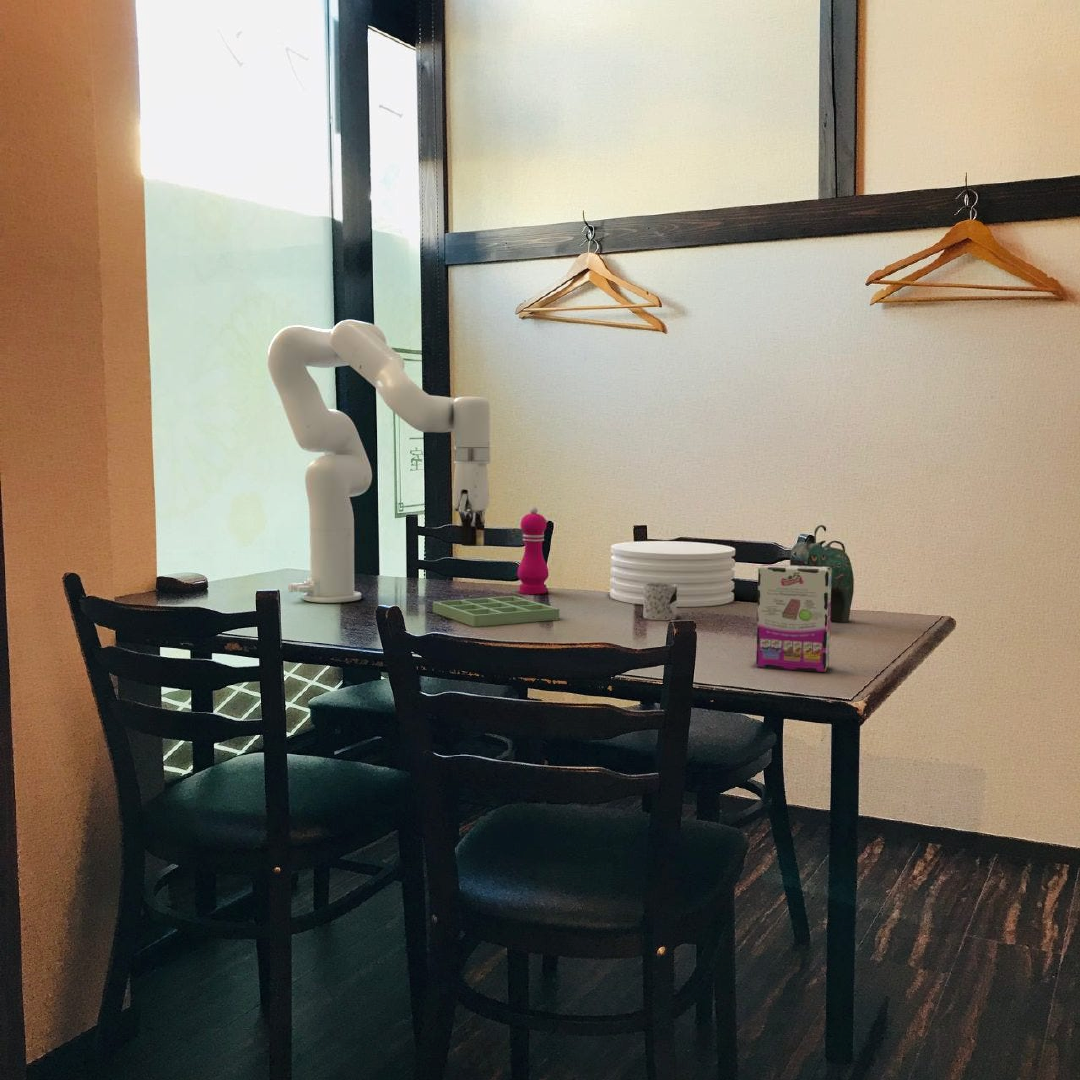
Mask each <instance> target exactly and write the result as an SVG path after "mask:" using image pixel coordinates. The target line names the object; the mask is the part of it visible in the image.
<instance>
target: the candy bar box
mask: <svg viewBox="0 0 1080 1080" xmlns="http://www.w3.org/2000/svg"><path fill="white" fill-rule="evenodd" d="M757 572H758V573H757V611H756V614H757V615H756V616H757V618H756V620H757V621H756V655H755V657H756V658H755V666H756V667H758V668H766V669H777V670H792V671H805V672H817V673H825V672H826V671H827V670H828V668H829V667H830V648H831V647H830V644H831V621H830V610H831V574H832V568H831V567H815V566H790V564H789V565H788V564H787V565H785V564H762V565H760V566H759V567H758V570H757Z"/></svg>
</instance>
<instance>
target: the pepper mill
mask: <svg viewBox="0 0 1080 1080" xmlns="http://www.w3.org/2000/svg"><path fill="white" fill-rule="evenodd" d="M520 529H521V531H522V532H523V534H522V541H524V551H523V556H522V559H521V561H520V562H519V565H518V568H517V578H518V580H519V581H520V582H521V583H520V584H519V587H518V588H519V593H520V594H523V595H544V594H546V593H547V585H546V584H545V582H546V581H547V580H548V578H549V568H548V565H547V562H546V560H545V558H544V554H543V542H544V541H545V538H544V537H545V534H544V532H545V531H546V529H547V520H546V518H545V517H544V515H541V514H540V513H538V507H536V506H531V507H530V508H529V513H527V514H525V515H524V516H523V517H522V518H521V521H520Z"/></svg>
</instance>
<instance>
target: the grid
mask: <svg viewBox="0 0 1080 1080" xmlns="http://www.w3.org/2000/svg"><path fill="white" fill-rule="evenodd" d="M432 613H433V614H437V615H440V616H442V617H446V618H448V619H451V620H454V621H456V622H460V623H463V624H465V625H469V626H470V627H473V628H476V627H477V628H478V627H489V626H500V625H512V624H523V623H524V624H525V623H536V622H547V621H558V620H560V608H559V607H555V606H551V605H548V604H544V603H541V602H537V601H535V600H534V601H533V600H530V599H526V598H523V597H519V596H515V595H506V596H493V597H479V598H467V599H466V598H465V599H464V598H463V599H451V600H439V601H437V600H436V601H432Z"/></svg>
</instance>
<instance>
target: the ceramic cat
mask: <svg viewBox="0 0 1080 1080" xmlns="http://www.w3.org/2000/svg"><path fill="white" fill-rule="evenodd" d="M820 528H822V529H823V531H824V532H827V526H826V525H823V524H819V525H817V526H816V527H815V529H814V533H813V542H814V543H813V542H811V538H810V537H808V538H807V539H806V541H798V542H797V543H796V544H794V545H793V546H792V549H791V552H790V557H789V565H790V566H815V567H831V568H832V574H831V610H830V622H835V623H847V622H849V621H850V615H851V608H852V603H853V597H854V590H855V589H854V588H855V579H854V572H853V567H852V562H851V560H850V557H849V555H848V554H847V552H846V547H845V544H844V543H843V542H841V541H839V540H831V541H830V542H828V543H826V540H821V541H819V542H817V533H818V531H819V529H820ZM825 543H826V544H825ZM834 543H835V544H838V545H840V546H841V548H838V547H832V546H831V545H832V544H834ZM824 544H825V545H824ZM823 545H824V546H823Z"/></svg>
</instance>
